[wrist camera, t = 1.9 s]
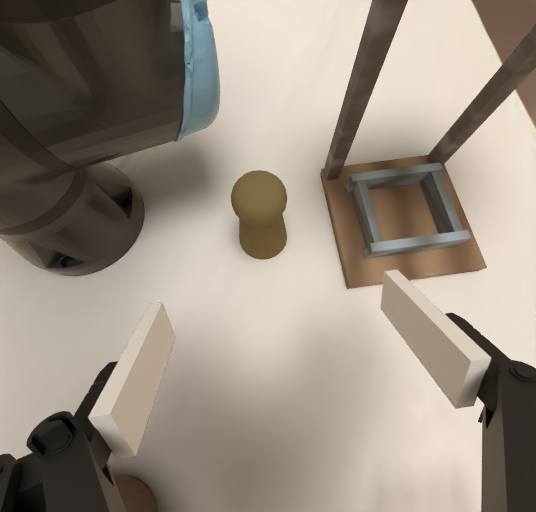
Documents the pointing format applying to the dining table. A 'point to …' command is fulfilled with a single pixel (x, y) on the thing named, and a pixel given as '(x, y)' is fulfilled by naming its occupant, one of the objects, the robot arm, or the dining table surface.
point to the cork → (260, 213)
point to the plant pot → (135, 495)
